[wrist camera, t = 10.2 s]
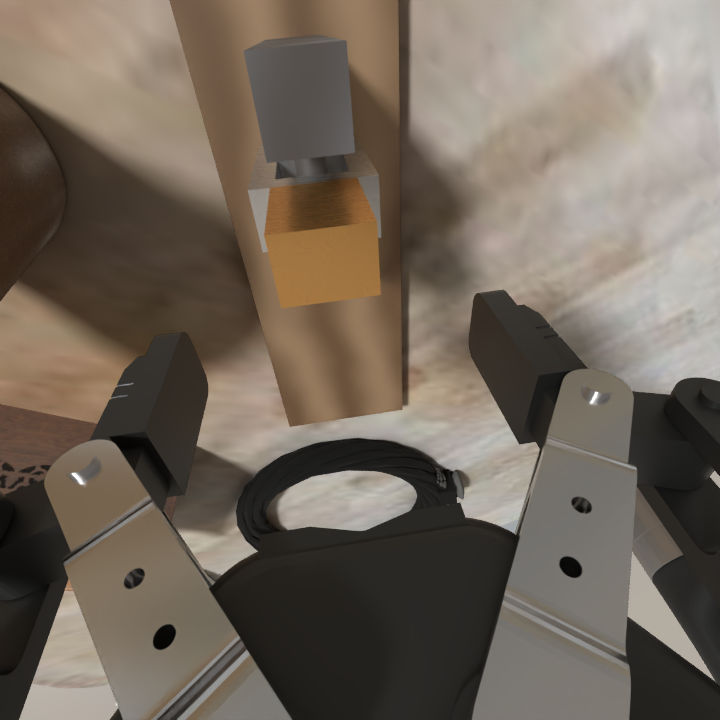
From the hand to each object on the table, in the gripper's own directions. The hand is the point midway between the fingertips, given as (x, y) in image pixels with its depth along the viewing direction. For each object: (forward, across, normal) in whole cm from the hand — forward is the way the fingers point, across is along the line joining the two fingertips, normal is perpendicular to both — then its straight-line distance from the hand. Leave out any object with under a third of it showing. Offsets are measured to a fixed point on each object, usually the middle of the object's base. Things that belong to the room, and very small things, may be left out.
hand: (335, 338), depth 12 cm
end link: (+19, 0, +3) cm, 20 cm away
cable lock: (+22, +1, +43) cm, 48 cm away
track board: (+21, 0, +8) cm, 23 cm away
